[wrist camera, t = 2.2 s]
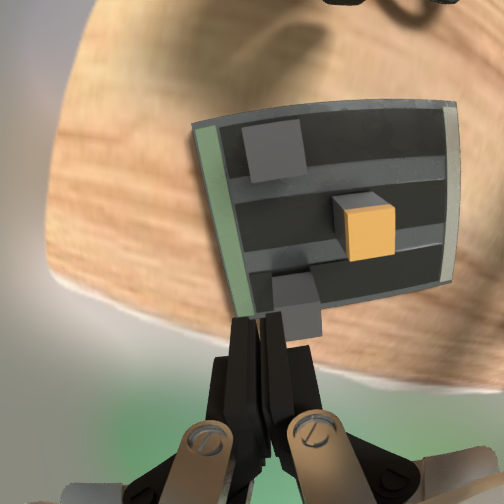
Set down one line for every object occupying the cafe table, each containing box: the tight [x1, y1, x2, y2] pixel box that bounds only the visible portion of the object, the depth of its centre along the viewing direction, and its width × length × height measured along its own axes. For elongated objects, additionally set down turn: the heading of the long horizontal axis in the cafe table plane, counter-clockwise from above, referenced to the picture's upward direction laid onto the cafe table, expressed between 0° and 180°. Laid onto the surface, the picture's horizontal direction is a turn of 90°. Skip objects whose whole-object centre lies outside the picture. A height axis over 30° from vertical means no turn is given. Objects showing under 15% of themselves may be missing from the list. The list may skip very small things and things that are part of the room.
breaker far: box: [272, 272, 322, 342], centre depth 21 cm, size 3×3×4 cm
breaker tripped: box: [332, 192, 395, 262], centre depth 18 cm, size 3×3×4 cm
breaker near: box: [241, 119, 308, 183], centre depth 17 cm, size 3×3×4 cm
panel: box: [191, 99, 461, 319], centre depth 21 cm, size 20×16×2 cm
